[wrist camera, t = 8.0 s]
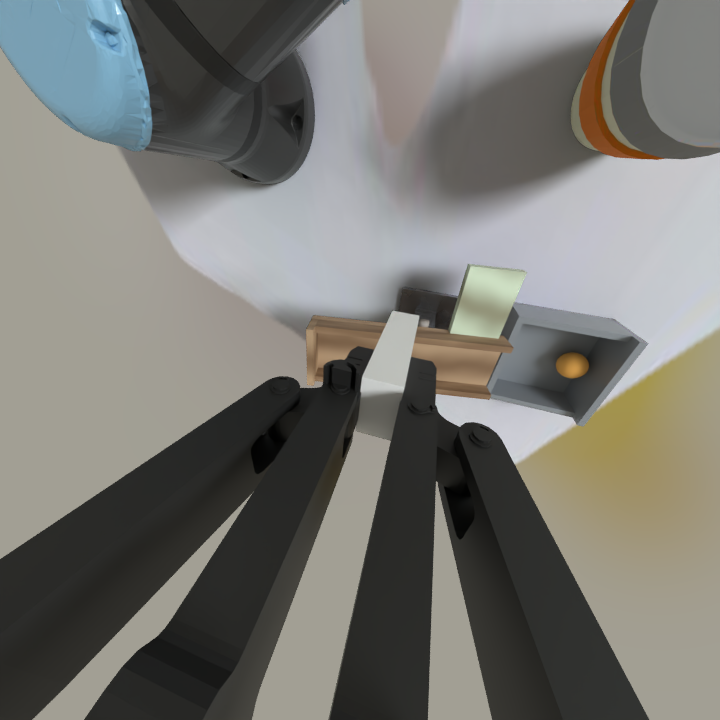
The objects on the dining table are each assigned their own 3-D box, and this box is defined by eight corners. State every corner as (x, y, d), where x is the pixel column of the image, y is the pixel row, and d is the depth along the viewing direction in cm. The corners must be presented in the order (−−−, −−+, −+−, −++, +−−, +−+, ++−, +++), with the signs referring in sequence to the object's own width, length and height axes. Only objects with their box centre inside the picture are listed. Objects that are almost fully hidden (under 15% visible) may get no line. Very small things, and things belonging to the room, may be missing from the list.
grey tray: (510, 301, 37) (522, 320, 31) (614, 319, 35) (648, 343, 29) (478, 376, 44) (484, 403, 38) (564, 394, 42) (583, 426, 36)
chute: (315, 245, 30) (304, 254, 25) (526, 268, 30) (551, 281, 26) (315, 366, 39) (307, 388, 34) (477, 383, 39) (490, 408, 35)
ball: (553, 351, 39) (552, 361, 36) (585, 346, 36) (586, 356, 34) (559, 373, 40) (558, 384, 37) (591, 369, 37) (592, 381, 35)
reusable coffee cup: (751, 78, 23) (1106, -60, 11) (588, 201, 30) (691, 203, 17) (683, -66, 21) (1044, -463, 8) (523, 103, 27) (588, 26, 15)
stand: (403, 286, 40) (396, 302, 34) (457, 296, 39) (460, 313, 33) (391, 354, 46) (383, 376, 41) (437, 364, 45) (436, 389, 39)
